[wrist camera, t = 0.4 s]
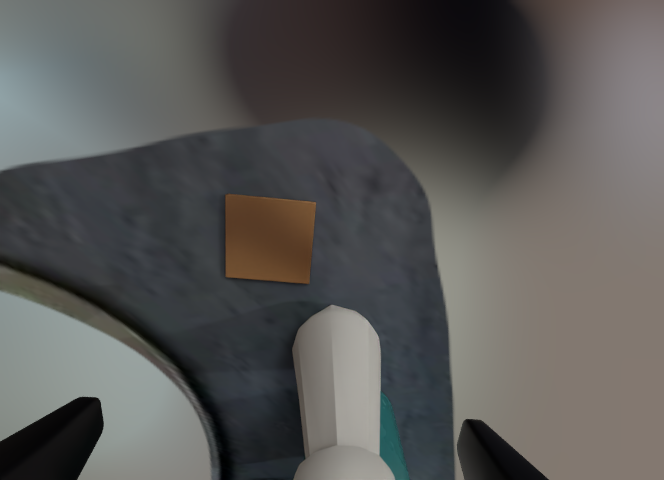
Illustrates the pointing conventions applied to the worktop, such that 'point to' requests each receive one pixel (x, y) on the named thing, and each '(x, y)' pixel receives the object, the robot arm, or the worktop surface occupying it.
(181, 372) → the worktop surface
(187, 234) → the worktop surface
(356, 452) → the salt shaker
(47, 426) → the robot arm
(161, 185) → the worktop surface
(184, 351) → the worktop surface
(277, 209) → the coaster
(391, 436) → the tin
